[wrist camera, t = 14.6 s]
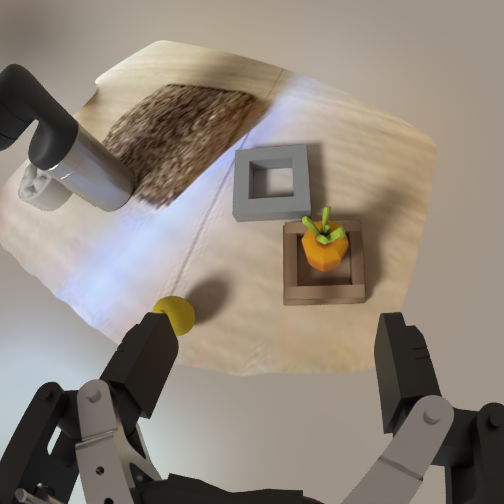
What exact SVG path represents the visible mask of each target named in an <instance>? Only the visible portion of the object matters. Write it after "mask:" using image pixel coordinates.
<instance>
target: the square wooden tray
mask: <svg viewBox="0 0 504 504" xmlns="http://www.w3.org/2000/svg"><path fill="white" fill-rule="evenodd" d="M315 222H318V221H314V222H313V223H315ZM333 222H335V223H337V224H339V225H341V226H343V228H344V230H345V234H346V237H347V240H348V242H349V246H348V248H347V251H346V253H345V255H344V257H343V259H342V261H341V263H340V265H339V267H338V268H336V269H333V270H329V271H326V272H322V271H320V270H318V269H316V268H314V267H312V266H311V265H310V264H309V262H308V260H307V256H306V253H305V250H304V247H303V244H302V238H303V236H304V234H305V233H306V231H307V229H308V228H307V227H306V226H305V225H304V224H303V222H290V223H285V226H283V278H284V289H283V305H328V304H354V303H365V302H366V295H365V273H364V257H363V244H362V232H361V223H360V220H342V221H333Z"/></svg>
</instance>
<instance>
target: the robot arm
mask: <svg viewBox="0 0 504 504" xmlns="http://www.w3.org/2000/svg"><path fill="white" fill-rule="evenodd" d="M35 119H36V120H38V121H39V124H38V126H37V129H36V131H35V133H34V135H33V137H32V140H31V142H30V146H29V152H28V155H29V160H30V161H31V163H32V164H33V165H34V166H36V167H37V168H39V169H40V170H42V171H44V172H45V173H47V174H48V175H50V176H51V177H53V178H54V179H56V180H57V181H59V182H60V183H62V184H63V185H65V188H67V189H68V190H70V191H72V192H73V193H75V194H76V195H78V196H79V197H81V198H82V199H84V200H86V201H87V202H89V203H90V204H92V205H94V206H95V207H96V206H97V207H99V208H100V209H102V210H104V211H108V212H109V211H114V210H117V209H118V208H120V207H121V206H122V205H124V204H125V203H126V201H127V200H128V199H129V197H130V196H131V194H132V192H133V189H134V184H135V179H134V175H133V173H132V172H131V171H130V170H129V169H128V168H127V167H126V166H125V165H124V164H123V163H122V162H121V161H120V160H118V159H117V158H116V157H115V156H114V155H113V154H112V153H111V152H110V151H109V150H107V149H106V148H105V147H104V146H103V145H102V144H101V143H100V142H99V141H98V140H97V139H96V138H94V137H93V136H92V135H91V134H90V133H89V132H88V131H87V130H86V129H85V128H84V127H82V126H81V125H80V124H79V123H78V122H77V121H76V120H75V119H74V118H73V117H72V116H71V115H70V114H68V112H67V111H66V110H65V109H64V108H63V107H62V106H61V105H60V104H59V103H58V102H57V101H56V100H55V99H54V98H53V97H52V96H51V95H50V94H49V93H48V92H47V91H46V90H45V88H44V87H43V86H42V85H41V84H40V83H39V82H38V81H37V79H36V78H35V77H34V76H33V75H32V74H31V73H30V72H29V71H28V70H26V69H25V68H24V67H22V66H21V65H18V64H11V65H9V66H7V67H6V69H4V70H3V71H2V72H1V73H0V151H2V150H5V149H7V148H8V147H9V146H11V145H12V144H13V143H14V142H15V141H16V140H17V139H18V137H19V136H20V135H21V134H22V133H23V132H24V131H25V129H26V128H27V127H28V126H29V125H30V124H31V123H32V122H33V121H34V120H35ZM178 348H179V346H178V340H177V337H176V335H175V332H174V330H173V327H172V325H171V322H170V320H169V317H168V315H167V314H166V313H152V312H148V313H147V314H146V315H145V316H144V318H143V319H142V321H141V323H140V324H136V325H135V326H134V327H133V328H131V329H130V330H129V331H128V332H127V333H126V335H125V337H124V338H123V340H122V343H121V344H120V345H119V346H118V348H117V351H115V353H114V355H113V356H112V358H111V360H110V361H109V363H108V365H107V366H106V368H105V370H104V372H103V373H102V375H101V377H100V379H99V380H91V381H89V382H87V383H85V384H84V385H83V386H82V387H81V388H80V389H79V390H70V391H64V390H63V389H62V388H61V387H60V386H59V384H58V383H56V382H48V383H45V384H44V385H42V386H41V387H40V388H39V389H38V390H37V392H36V394H35V395H34V397H33V399H32V401H31V403H30V404H29V406H28V408H27V410H26V411H25V413H24V415H23V417H22V419H21V421H20V423H19V424H18V426H17V428H16V430H15V432H14V434H13V436H12V438H11V440H10V442H9V444H8V446H7V448H6V450H5V452H4V454H3V456H2V459H1V461H0V504H68V501H69V499H70V496H71V493H72V490H73V488H74V485H75V482H76V480H77V477H78V474H79V473H80V477H81V482H82V487H83V491H84V495H85V499H86V503H87V504H324V503H322V502H320V501H317V500H315V499H312V498H309V497H305V496H303V490H278V489H263V490H256V491H247V492H236V493H232V492H227V491H225V490H222V489H220V488H218V487H215V486H213V485H210V484H208V483H206V482H204V481H201V480H199V479H194V478H189V477H184V476H180V475H175V474H172V473H170V474H169V476H168V479H166V480H162V478H161V476H160V475H159V473H158V471H157V470H156V468H155V467H154V465H153V464H152V462H151V460H150V457H149V454H148V451H147V448H146V445H145V442H144V440H143V437H142V433H141V430H140V427H139V425H138V423H137V421H138V419H139V417H143V418H148V419H150V418H151V415H152V413H153V410H154V408H155V406H156V403H157V401H158V398H159V396H160V394H161V391H162V389H163V387H164V384H165V382H166V380H167V377H168V375H169V373H170V370H171V368H172V366H173V363H174V361H175V359H176V357H177V354H178ZM374 358H375V365H376V371H377V378H378V386H379V393H380V401H381V410H382V419H383V429H384V434H386V433H393V440H392V441H391V443H390V444H389V445H388V447H387V448H386V450H385V451H384V452H383V454H382V455H381V456H380V457H379V458H378V460H377V461H376V462H375V463H374V465H373V466H372V467H371V468H370V470H369V471H368V472H367V474H366V475H365V476H364V477H363V478H362V480H361V481H360V482H359V484H358V485H357V486H356V487H355V488H354V489H353V490H352V492H351V493H350V494H349V495H348V496H347V497H346V498H345V499H344V501H343V502H342V503H341V504H409V502H410V501H411V499H412V498H413V496H414V495H415V494H416V492H417V490H418V489H419V487H420V485H421V484H422V481H423V476H424V474H425V472H426V471H427V469H428V467H429V466H430V465H438V466H445V483H446V504H504V406H503V405H502V404H500V403H489V404H486V405H485V406H483V407H482V408H481V410H480V411H470V410H461V409H457V408H454V407H452V406H451V404H450V403H449V402H448V401H447V400H446V399H445V398H443V397H442V395H441V393H440V389H439V386H438V382H437V378H436V375H435V372H434V368H433V364H432V361H431V359H430V355H429V351H428V349H427V345H426V342H425V339H424V336H423V334H421V332H420V331H419V330H418V329H417V328H416V326H406V325H405V321H404V318H403V315H402V313H401V312H394V313H381V314H380V318H379V323H378V329H377V334H376V339H375V345H374ZM56 426H58V427H59V428H60V429H61V433H60V435H59V437H58V439H57V441H56V443H55V446H54V448H53V450H52V452H51V454H50V455H49V453H48V450H47V446H48V443H49V441H50V439H51V437H52V435H53V432H54V430H55V428H56Z"/></svg>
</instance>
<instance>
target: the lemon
mask: <svg viewBox="0 0 504 504" xmlns="http://www.w3.org/2000/svg"><path fill="white" fill-rule="evenodd" d="M152 313H166V314H167V315H168V317H169V320H170V322H171V325H172V327H173V330H174V332H175V335H176V336H181V335H184V334H186V333H187V332H189V331H190V330H191V329H192V327H193V325H194V322H195V311H194V309H193V307H192V305H191V304H190V303H189V302H188V301H187V300H185V299H183V298H181V297H177V296H168V297H164V298H162V299H160V300H159V301H158V302H157V303H156V304H155V305H154V308H153V310H152Z"/></svg>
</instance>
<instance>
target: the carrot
mask: <svg viewBox="0 0 504 504" xmlns="http://www.w3.org/2000/svg"><path fill="white" fill-rule="evenodd" d="M330 209H331V207H330V206H327V207H325V208H324V211H323V217H322V220H321V221H318V222H315V223H313V221H312V220H311V219H310V218H308V217H307V216H305V217H303V218H302V222H303V224H304V225H305V226H306V227H307V228H308V229H307V231H306V233H305V234H304V236H303V238H302V244H303V247H304V250H305V253H306V256H307V260H308V262H309V264H310V265H311V266H312V267H314V268H316V269H318V270H320V271H322V272H326V271H329V270H333V269H336V268H338V267H339V265H340V263H341V261H342V259H343V257H344V255H345V253H346V251H347V248H348V246H349V242H348V240H347V237H346V234H345V230H344V228H343V226H341V225H339V224H337V223H335V222H333V221H330V220H328V219H329V215H330Z"/></svg>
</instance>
